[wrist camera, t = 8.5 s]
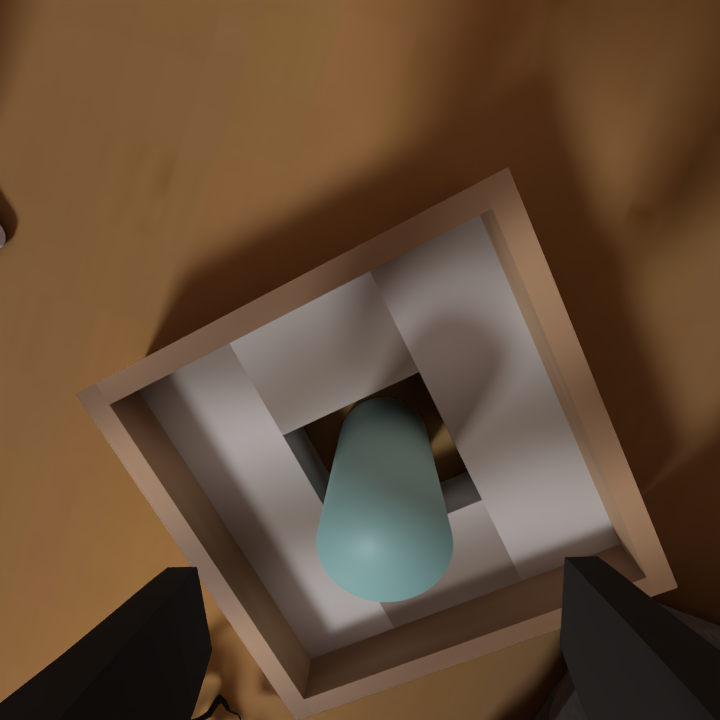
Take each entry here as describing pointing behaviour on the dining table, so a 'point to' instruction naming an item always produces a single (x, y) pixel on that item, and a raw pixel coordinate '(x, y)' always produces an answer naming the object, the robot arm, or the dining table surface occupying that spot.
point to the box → (358, 380)
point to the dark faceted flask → (563, 706)
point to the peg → (384, 506)
